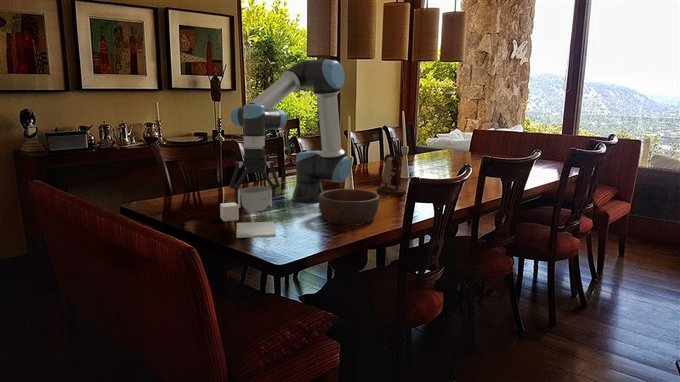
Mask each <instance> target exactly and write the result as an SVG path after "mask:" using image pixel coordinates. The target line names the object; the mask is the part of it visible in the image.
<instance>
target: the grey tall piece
mask: <svg viewBox="0 0 680 382" xmlns="http://www.w3.org/2000/svg"><path fill="white" fill-rule="evenodd" d="M383 162H384V168H383V178H382V179H383V180H382V181H383V183H384V185H381V186H378V187H377V188H376V193H377V192H378V193H377V194H383V195H387V196H388V195H390V196H392V195H394V196H395V195H397V196H398V195H404V194H405V195H406V193H407V189H406V188H405V187H402V186H399V184H400V183H401V176H400V174H401V169H400V165H401V163H402V159H401V157H400V156H398V155H394V156H393V155H392V154H390V153H388V154H386V155H385V156H384V157H383ZM393 173H395V174H393Z"/></svg>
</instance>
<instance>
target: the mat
mask: <svg viewBox="0 0 680 382" xmlns="http://www.w3.org/2000/svg"><path fill="white" fill-rule="evenodd" d="M263 237H264V238H265V237H269V238H270V237H277V233H276V228H275V223H274V221H256V222H255V221H253V222H252V221H251V222H236V238H237V239H239V238H263Z"/></svg>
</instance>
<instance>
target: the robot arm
mask: <svg viewBox="0 0 680 382" xmlns="http://www.w3.org/2000/svg"><path fill="white" fill-rule="evenodd" d="M345 77H346V76H345V70H344V68H343V65H342V64H341V63H340V62H339V61H337V60H333V59H307V60H302V61H300V62H297V63H295V64H293V65H292V66H290V67H289V68H287V69H286V70H285V71H283V72H282V73H281V75H280V78H279V79H277V80H276V81H275V82H274V83H272V84H271V85H269V87H267V88H265V89H264V91H262V92H261V93H259V94H258V95H257V96H256V97H254V98H253V99H251V101H249V102H248V103H246V104H244V106H238V107H234V108H233V109H232V111H231V112H230V121H231V123H232V124H233V125H234V126H235V127H239V128H243V147H244V149H243V161H235V169H234V172H233V175H232V176H231V181H230V183H229V188H230V189H233V190H234V198H235V199H237V205H238V208H241V194H240V190H241V188H240V187H241V185H242V184H243V182H244V180H245V178H246V177H247V175H248V174H249V173H250V174H259V173H261V175H262V176H263V178H264V180H266V182H267V183H268V185H269V188H270V204H269V207H270V208H272V207H273V198H275V197H276V189H277V188H278V189H279V188H280V187H281V186H280V182H279V180H278V176H277V174H276V172H275V171H276V170H275V168H274V167H275V166H274V161H273V160H271V161H267V160H266V153H265V152H266V148H264V147H265V146H266V142H265V141H266V139H265V138H266V137H265V135H266V134H265V133H266V130H279V129H283V128H284V127H285V126H286V125H287V120H288V119H287V118H288V117H287V114H286V111H284V110H283V109H280V108H275V107H276V106H277V105H278V104H279V103H281V102H283V100H284V99H286V98H287V97H288V96H290V94H291V93H296V92H298V91H299V90H300V89H305V88H312V93H313V94H314V96H316V99H317V107H318V120H319V130H320V140H321V150H311V151H309V150H308V151H300V152H298V153H297V154H296V160H295V176H296V177H295V187H294V190H293V193H292V201H293V202H296V203H300V204H301V203H302V204H317V203H318V204H319V199H318V195H319V194H320V193H321V192H323V191H324V190H323V186H322V181H326V182H331V183H332V182H333V183H343V182H346V180H347V179H348V177H349V175H350V174H351V169H352V161H351V159H350V158H349V157H347V156H346V151H345V150H344V149H343V148H342V143H341V142H342V140H341V129H340V118H339V103H338V102H339V101H338V94H339V93H340V92H341V88H342V87H343V86H344V83H345V79H346V78H345ZM242 166H243V167H244V168H245V169H244V171H243V173H242V175H241V176H240V178H239V179H238V181H237V182H236V179H237V176H238V173H239V170H240V169H241V168H242ZM266 166H267V167H268V168H269V169H270V172H271V174H272V178H273V181H274V183H273V182H272V179H271V178H270V177H269V176H268V174H267V172H266V171H265V170H264V168H265V167H266ZM235 182H236V184H235Z"/></svg>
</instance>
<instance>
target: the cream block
mask: <svg viewBox="0 0 680 382" xmlns="http://www.w3.org/2000/svg"><path fill="white" fill-rule="evenodd" d="M219 210H220V211H219V213H220V216H219V217H220V220H222V221H223V222H228V221H229V222H230V221H231V222H232V221H239V220H240V219H239V218H240V216H239V215H240V213H239V210H240V209H239V208H238V203H236V202H225V203H219Z"/></svg>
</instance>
